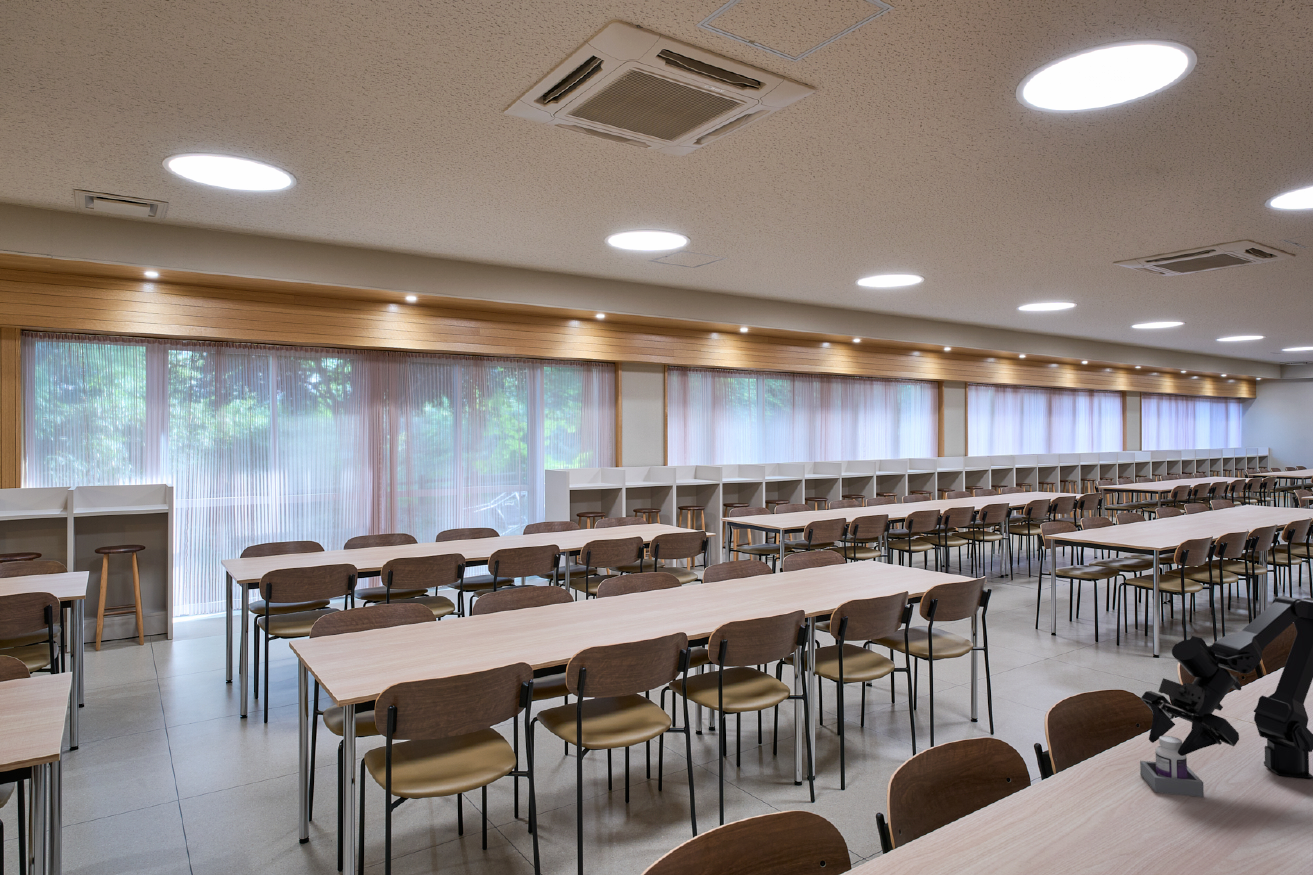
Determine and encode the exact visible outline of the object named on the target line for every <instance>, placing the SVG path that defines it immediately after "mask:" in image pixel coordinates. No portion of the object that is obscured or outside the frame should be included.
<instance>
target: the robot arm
mask: <svg viewBox="0 0 1313 875" xmlns="http://www.w3.org/2000/svg"><path fill="white" fill-rule="evenodd" d="M1292 624H1294V629H1295V631H1296V635H1295V638H1294V641H1293V643H1292V645H1291V648H1290V651H1289V653H1288V656H1287V658H1286V661H1285V664H1284V667H1283V670H1282V673H1281V675H1280V677H1279V680H1278V683H1277V685H1276V688H1275V691H1274V693H1272V694H1270V695H1269V696H1265V695H1260V697H1259V698H1258V702H1257V705H1256V706H1255V708H1254V710H1253V712H1254V715H1253V721H1254V723H1255V726H1256V729H1257V732H1258V736H1260V737H1261V738H1264V739H1266V743H1267V744H1266V745H1265V746H1264V761H1263V765H1265V767H1267V768H1269V769H1270V771H1272V772H1274V773H1275V774H1276V775H1277V776H1281V777H1293V778H1301V779H1303V778H1304V779H1313V774H1312V773H1310V758H1309V756H1310V754H1309V753H1312V752H1313V733H1312V731H1311V730H1310V729H1309V728H1308V723H1309V716H1308V713H1307V711H1306V707H1305V701H1306V698H1307V696H1308V692H1309V690H1310V687H1311V685H1312V683H1313V597H1303V598H1295V597H1292V596H1291V597H1290V596H1284V595H1280V596H1275V598H1274V599H1273V601H1272V604H1270V605H1269V606H1268V607H1267V608H1266V609H1264V611H1262V612H1261V613H1260V614H1259V615H1258V616H1256V617H1255V618H1254V619H1253V620H1252V621H1250V623H1248V624H1247V625H1246V626H1245V627H1244V628H1243V629H1241V630H1240V631H1238V632H1235V633H1232V634H1231V633H1230V634H1227V635H1225V636H1222V637H1221V638H1219V639H1217V640H1216V641H1214V642H1213V643H1212V644H1211V645H1208V644H1207V642H1206V641H1205V640H1204V639H1203V638H1202V637H1199V636H1196V635H1191V637H1190V639H1188V638H1187V639H1184V640H1181V641H1179V642H1178V643H1175V644H1174V645H1173V646H1172V650H1171V654H1172V656H1173V658H1175V660H1176V661H1177V662H1178V664H1180V665H1181V667H1182V668H1184V670H1186V672H1188V674H1189V675H1191V677H1194V680H1193V681H1192V682H1191V683H1190V682H1189V683H1188V682H1185V683H1183V684H1181V683H1179V682H1176V681H1173V680H1171V679H1167V678H1164V677H1163V678H1162V680H1161V683H1160V686H1159V688H1158V693H1157V692H1155V691H1152V690H1148V691H1145V692H1144V694H1142V696H1141V697H1140V700H1141V701H1142V702H1143V703H1144V704H1145V705H1146V706H1147V707H1148V708H1149V709H1150V710H1151V712H1152V723H1151V726H1150V730H1149V736H1148V740H1149V742H1150V743H1151V744H1154V743H1156V741H1159V737H1160V736H1165V734H1167V732H1169V731H1170V730H1171V729H1172V728H1173V727H1174V726H1175V725H1176V723H1175V722H1174V721H1173V720H1172V719H1174V718H1175V717H1177V718H1179V719H1182V720H1185V721H1188V722H1190V723H1191V731H1190V732H1189V733H1188V735H1187V736H1186V737H1185V739H1184V741H1182V745H1181V746H1180V748H1179V750H1178V754H1179V755H1180V756H1184V755H1186V756H1187V755H1188V754H1191V753H1193V752H1197V751H1198V750H1201V749H1205V748H1207V747H1211V746H1214V745H1219V746H1220V745H1222V744H1223V743H1224V744H1226V745H1229V746H1232V747H1235V746H1236V745H1237V743H1239V741H1240V734H1239V732H1238V731H1237V730H1236V728H1234V726H1233V725H1231V723H1230V722H1229V721H1228V720H1227V719H1226V718H1224V717H1222V716H1219V715H1216V714H1213V713H1214V712H1215V710H1217V711H1222V709H1223V708H1224V706H1223V705H1222V704H1221V702H1222V701H1223V699H1224V698H1225V697H1226V696H1227V694H1228V693H1229V691H1231V689H1233V690H1236V691H1241V690H1242V686H1241V683H1240V679H1239V676H1236V675H1234V674H1232V673H1231V672H1230V671H1233V672H1235V673H1236V672H1237V673H1240V674H1243V675H1244V674H1245V675H1248V674H1251V673H1252V672H1253V671H1254V670H1255V669H1256V667H1258V665H1259V664H1260V662H1262V660H1263V651H1264V650H1265V648H1266V647H1268V645H1270V644H1271V643H1272V642H1273V641H1274V640H1275V639H1277V637H1279V636H1280V635H1281V634H1282V633H1283V632H1284V631H1285V630H1287V629H1288V628H1289V627H1290V626H1291V625H1292ZM1229 670H1230V671H1229ZM1159 693H1160V694H1159ZM1162 694H1164V695H1166V696H1168V697H1169V700H1170V701H1171V702H1172V703H1174V704H1175V705H1173V704H1172V703H1171V702H1170V701H1169V700H1168V699H1167V698H1166V697H1165V696H1164V695H1162Z"/></svg>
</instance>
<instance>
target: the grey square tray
mask: <svg viewBox="0 0 1313 875" xmlns="http://www.w3.org/2000/svg"><path fill="white" fill-rule="evenodd" d="M1139 763H1140V765H1139V766H1140V771H1139V772H1140V776H1141V775H1142V776H1141V777H1142V778H1143V777H1144V778H1143V779H1144V781H1147V782H1146V783H1147V784H1148V785H1149V786H1150V788H1151V789H1152V790H1153V792H1154V793H1158V792H1159V793H1160V794H1169V795H1170V794H1171V795H1178V796H1189V797H1199V798H1205V796H1204V795H1205V794H1204V793H1205V792H1204V791H1205V790H1204V781H1203V780H1202V779H1201V778H1200V777H1199V776H1198V775H1197V774H1196V773H1195V772H1194V771H1192V769H1191V768H1189V766H1188V765H1187V779H1180V778H1170V777H1160V776H1157V775H1156V761H1150V760H1149V761H1148V760H1140V761H1139Z"/></svg>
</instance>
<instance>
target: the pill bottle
mask: <svg viewBox="0 0 1313 875" xmlns="http://www.w3.org/2000/svg"><path fill="white" fill-rule="evenodd" d="M1158 741H1159V742H1158V744H1159V746H1157V747H1156V748H1155V762H1156V775H1157V776H1160V777H1170V778H1180V779H1187V766H1188V764H1187V763H1188V761H1187V760H1188V759H1187V754H1186V755H1184V756H1180V755H1179V754H1178V750H1179V748H1180V746H1181V745H1182V743H1183V740H1182V739H1180V738H1178V737H1175V736H1170V735H1163V736H1160V737H1159V739H1158Z"/></svg>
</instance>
